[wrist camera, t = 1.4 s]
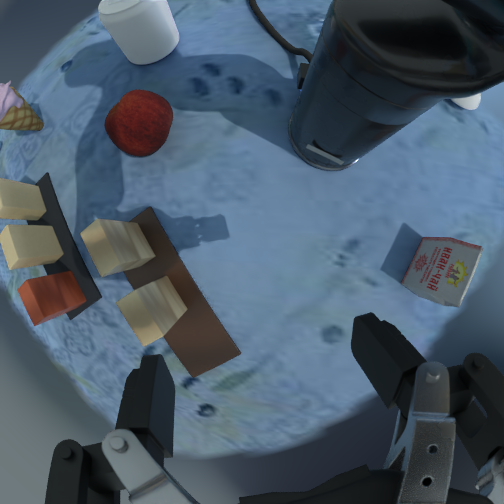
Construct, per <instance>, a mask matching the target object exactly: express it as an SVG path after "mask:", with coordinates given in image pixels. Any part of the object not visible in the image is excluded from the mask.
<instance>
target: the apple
mask: <svg viewBox="0 0 504 504" xmlns="http://www.w3.org/2000/svg"><path fill="white" fill-rule="evenodd" d="M172 121H173V111H172V108H171V106H170V104H169V103H168V102H167V101H166V100H165V99H164V98H163V97H161V96H160V95H158V94H156V93H153V92H150V91H146V90H132V91H130V92H128V93H126V94H125V95H124V96H123V97H122V98H121V100H120V102H118V103H117V104H116V105H115V106H114V107H113V108H112V109H111V110H110V111H109V113H108V115H107V117H106V120H105V130H106V132H107V134H108V136H109V138H110V139H111V140H112V142H113V143H114V144H115V145H116V146H117V147H118V148H119V149H120V150H122V151H123V152H125V153H127V154H129V155H132V156H139V157H140V156H147V155H150V154H152V153H154V152H156V151H157V150H158V149H159V148H160V147H161V146H162V145H163V144H164V143H165V141H166V139H167V137H168V134H169V130H170V127H171V124H172Z"/></svg>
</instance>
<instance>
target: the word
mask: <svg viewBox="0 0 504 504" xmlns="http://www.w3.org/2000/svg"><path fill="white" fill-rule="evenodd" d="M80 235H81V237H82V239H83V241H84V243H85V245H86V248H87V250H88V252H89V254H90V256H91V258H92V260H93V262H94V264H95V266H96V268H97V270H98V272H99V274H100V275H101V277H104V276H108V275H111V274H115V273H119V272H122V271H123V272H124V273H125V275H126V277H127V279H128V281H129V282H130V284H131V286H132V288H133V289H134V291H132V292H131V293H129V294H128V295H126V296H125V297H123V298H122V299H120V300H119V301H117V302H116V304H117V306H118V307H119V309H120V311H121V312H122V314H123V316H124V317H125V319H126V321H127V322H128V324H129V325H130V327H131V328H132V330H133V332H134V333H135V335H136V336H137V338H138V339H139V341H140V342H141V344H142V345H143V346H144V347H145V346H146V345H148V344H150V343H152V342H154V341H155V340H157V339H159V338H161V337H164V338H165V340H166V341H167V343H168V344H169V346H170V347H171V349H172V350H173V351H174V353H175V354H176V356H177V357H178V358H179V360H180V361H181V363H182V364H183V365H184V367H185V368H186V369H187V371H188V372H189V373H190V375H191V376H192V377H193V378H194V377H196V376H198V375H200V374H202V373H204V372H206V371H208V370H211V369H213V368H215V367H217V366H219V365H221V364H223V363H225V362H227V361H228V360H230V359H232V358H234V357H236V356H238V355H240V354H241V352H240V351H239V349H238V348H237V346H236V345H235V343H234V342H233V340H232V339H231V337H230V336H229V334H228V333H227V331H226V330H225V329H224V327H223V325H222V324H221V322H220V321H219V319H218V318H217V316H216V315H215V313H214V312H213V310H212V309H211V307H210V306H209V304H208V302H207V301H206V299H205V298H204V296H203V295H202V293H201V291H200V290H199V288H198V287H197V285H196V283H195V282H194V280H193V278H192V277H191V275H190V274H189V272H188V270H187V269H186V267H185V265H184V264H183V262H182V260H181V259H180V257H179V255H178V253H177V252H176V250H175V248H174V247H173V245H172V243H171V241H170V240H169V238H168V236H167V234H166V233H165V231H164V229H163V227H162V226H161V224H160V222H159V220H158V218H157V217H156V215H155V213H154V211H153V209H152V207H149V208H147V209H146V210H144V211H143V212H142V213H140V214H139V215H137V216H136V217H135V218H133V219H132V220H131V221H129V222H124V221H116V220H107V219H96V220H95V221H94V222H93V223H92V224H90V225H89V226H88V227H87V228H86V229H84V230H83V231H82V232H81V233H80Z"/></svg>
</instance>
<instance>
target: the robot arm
mask: <svg viewBox="0 0 504 504" xmlns="http://www.w3.org/2000/svg"><path fill="white" fill-rule="evenodd" d="M249 3H250V6H251V8H252V10H253V11H254V13H255V15H256V16H257V17H258V19H259V20H260V22H261V23H262V24H263V26H264V27H265V28H266V29H267V31H268V32H269V33H270V34H271V35H272V36H273V37H274V38H275V39H276V40H277V41H278V42H279V43H280V44H281V45H282V46H283V47H284V48H286V49H287V50H288V51H289V52H291V53H293V54H295V55H302V56H304V57H305V58H306V59H307V60H308V62H309V63H310V64H306V63H300V67H299V71H298V74H297V89H301V92H300V95H299V98H298V101H297V103H296V106H295V109H294V112H293V113H292V116H291V118H290V121H289V127H288V133H289V138H290V141H291V144H292V146H293V148H294V150H295V151H296V153H297V154H298V155H299V156H300V157H301V158H302V159H303V160H304V161H305V162H307V163H308V164H310V165H312V166H314V167H316V168H318V169H322V170H326V171H339V170H343V169H346V168H348V167H350V166H351V165H353V164H354V163H355V162H357V161H358V160H359V159H360V158H361V157H363V156H364V155H365V154H367V153H368V152H370V151H371V150H372V149H374V148H375V147H377V146H378V145H379V144H381V143H382V142H384V141H385V140H386V139H388V138H389V137H391V136H392V135H393V134H395V133H396V132H398V131H399V130H401V129H402V128H403V127H405V126H406V125H408V124H409V123H410V122H412V121H413V120H415V119H416V118H417V117H419V116H420V115H422V114H423V113H424V112H426V111H427V110H429V109H430V108H432V107H433V106H434V105H436V104H437V103H439V102H440V101H442V100H444V99H457V98H466V97H470V96H474V95H476V94H479V93H481V92H483V91H485V90H487V89H489V88H491V87H493V86H495V85H497V84H499V83H501V82H504V0H333V1H332V2H331V4H330V6H329V8H328V11H327V14H326V17H325V20H324V23H323V26H322V29H321V32H320V35H319V38H318V41H317V44H316V47H315V50H314V53H313V55H312V54H311V53H310V52H309V51H307V50H305V49H302V48H295V47H293V46H292V45H291V44H290V43H288V42H287V41H286V40H285V39H284V38H283V37H282V36H281V35H280V34H279V33H278V32H277V31H276V30H275V29H274V28H273V26H272V25H271V24H270V23H269V21H268V20H267V19H266V18H265V16H264V15H263V13H262V12H261V11H260V9H259V7H258V6H257V4H256V1H255V0H249ZM351 350H352V353H353V356H354V358H355V359H356V361H357V362H358V364H359V365H360V367H361V368H362V370H363V371H364V373H365V374H366V376H367V377H368V379H369V380H370V382H371V384H372V385H373V387H374V388H375V390H376V391H377V393H378V394H379V396H380V397H381V399H382V401H383V402H384V404H385V405H386V407H387V409H391V408H393V407H395V406H398V408H399V409H400V410H399V412H398V417H397V422H396V427H395V432H394V437H393V441H392V445H391V449H390V452H389V455H388V457H387V459H386V461H385V464H384V467H383V469H370V470H369V469H368V467H367V465H366V464H365V465H363V466H360V467H358V468H355V469H353V470H350V471H348V472H344V473H342V474H339V475H336V476H335V477H333V478H331V479H330V480H328V481H326V482H325V483H323V484H321V485H319V486H317V487H315V488H313V489H311V490H310V491H306V492H281V493H280V492H271V493H265V494H260V495H253V496H247V497H239V500H240V503H239V504H504V376H503V375H502V374H501V372H500V371H499V370H498V369H497V368H496V367H495V366H494V365H493V364H492V363H491V361H490V360H489V359H488V358H487V357H486V356H484V355H482V354H480V353H471V354H469V355H467V356H466V357H465V359H464V361H463V363H462V365H457V366H452V367H447V368H446V367H445V366H444V365H442V364H441V363H438V362H434V361H429V362H427V361H426V360H425V359H424V357H423V356H422V355H421V354H420V353H419V352H418V351H417V350H416V349H415V347H414V346H413V345H412V344H411V343H410V342H409V341H408V340H406V338H405V337H404V335H403V334H402V335H401V332H400V331H399V330H398V329H397V328H396V327H395V326H394V325H392V324H390V323H389V322H387V321H385V320H383V321H380V320H379V319H378V318H377V317H376V316H375V314H374V313H372V312H370V313H367V314H364V315H360V316H357V317H355V318H354V322H353V331H352V340H351ZM124 389H125V390H124V391H123V395H122V397H123V398H122V400H121V404H120V409H119V413H118V418H117V423H116V427H115V430H113V431H111V432H109V433H108V434H107V435H106V436H105V437H104V439H103V441H102V442H101V443H97V444H92V445H88V446H83V447H82V446H81V445H80V444H79V443H78V442H76V441H74V440H71V439H68V440H64V441H62V442H60V443H59V444H58V445H57V446H56V447H55V449H54V453H53V457H52V462H51V467H50V473H49V478H48V485H47V491H46V498H45V504H120V490H123V489H127V491H128V493H129V494H130V496H129V500H130V502H131V503H132V504H200V503H199V502H197V501H196V500H195V499H194V498H193V497H192V496H191V495H190V494H189V493H188V492H187V491H186V490H185V489H184V488H183V487H182V486H181V485H180V484H179V483H178V482H177V481H176V479H174V477H173V476H172V475H171V474H170V473H169V472H168V471H167V470H166V468H164V458H169V457H170V458H171V457H173V430H174V407H175V385H174V381H173V378H172V376H171V374H170V372H169V370H168V367H167V365H166V363H165V361H164V358H163V356H162V355H161V354H158V355H147V356H143V357H142V360H141V364H140V369H133V370H132V372H131V373H130V374H129V376H128V377H127V379H126V383H125V387H124ZM475 397H476V399H477V400H478V401H479V403H480V404H481V405H482V407H483V408H484V409H485V411H486V413H487V419H486V417H485V416H484V414H483V413H482V412H481V411H480V409H479V407H478V406H477V405H476V403H475V402H474V401H473V399H474V398H475ZM455 432H456V434H457V435H458V437H459V438H460V440H461V442H462V444H463V445H464V447H465V448H466V450H467V452H468V454H469V455H470V457H471V459H472V460H473V462H474V464H475V466H476V467H477V469H478V471H479V472H478V475H477V480H476V482H475V487H476V488H477V489H479V494H474V493H470V492H465V491H461V490H457V489H453V488H449V484H450V477H451V471H452V464H453V454H454V444H455Z"/></svg>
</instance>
